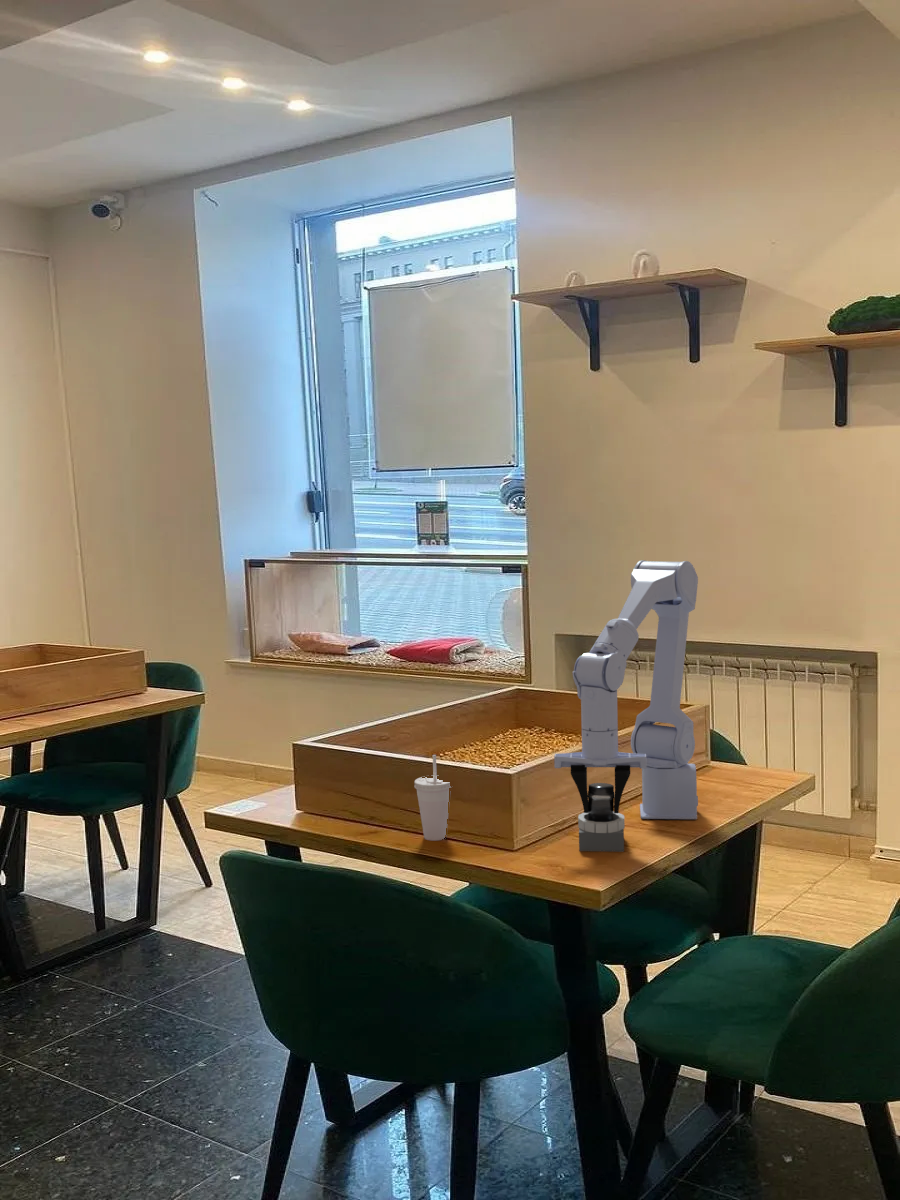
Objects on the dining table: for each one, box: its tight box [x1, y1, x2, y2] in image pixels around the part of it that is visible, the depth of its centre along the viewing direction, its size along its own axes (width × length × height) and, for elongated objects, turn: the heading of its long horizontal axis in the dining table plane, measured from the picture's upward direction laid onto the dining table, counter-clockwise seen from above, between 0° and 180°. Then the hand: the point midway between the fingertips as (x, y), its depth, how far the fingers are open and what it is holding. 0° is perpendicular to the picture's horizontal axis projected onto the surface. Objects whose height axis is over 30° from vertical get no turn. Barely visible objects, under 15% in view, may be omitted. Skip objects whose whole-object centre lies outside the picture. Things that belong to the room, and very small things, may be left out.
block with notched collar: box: [577, 812, 626, 853], centre depth 181 cm, size 7×7×4 cm
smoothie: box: [414, 754, 452, 842], centre depth 187 cm, size 6×6×14 cm
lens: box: [587, 782, 615, 822], centre depth 181 cm, size 4×4×6 cm
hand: (601, 811), depth 181 cm, fingers closed on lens, 4 cm apart
